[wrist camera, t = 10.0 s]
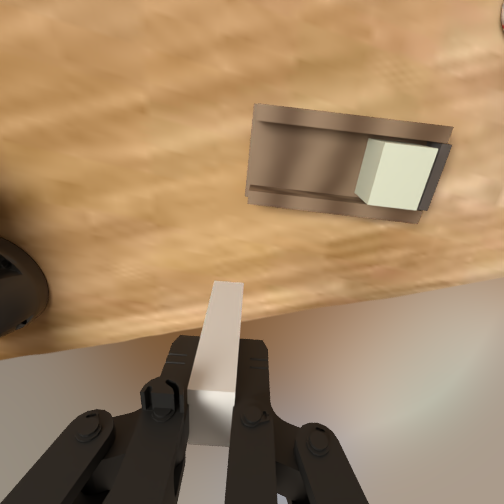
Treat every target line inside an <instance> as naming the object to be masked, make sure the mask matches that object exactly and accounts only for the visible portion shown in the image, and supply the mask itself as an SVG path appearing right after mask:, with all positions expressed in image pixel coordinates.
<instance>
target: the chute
mask: <svg viewBox="0 0 504 504" xmlns="http://www.w3.org/2000/svg"><path fill="white" fill-rule="evenodd" d="M452 130H453V127H450V126H442V125H434V124H425V123H417V122H409V121H400V120H392V119H384V118H375V117H367V116H359V115H350V114H342V113H334V112H325V111H317V110H309V109H300V108H292V107H284V106H275V105H267V104H259V103H258V104H254V110H253V120H252V130H251V140H250V150H249V160H248V170H247V181H246V191H245V196H246V197H248V204H253V205H261V206H270V207H278V208H286V209H295V210H303V211H312V212H320V213H329V214H337V215H345V216H354V217H362V218H371V219H379V220H388V221H396V222H404V223H413V224H418V222H419V219H420V217H421V214H422V210H425V211H428V208H429V205H430V203H431V200H432V197H433V195H434V192H435V189H436V187H437V184H438V181H439V179H440V176H441V173H442V171H443V168H444V165H445V163H446V160H447V157H448V155H449V152H450V149H451V147H452V145H450V144H444V143H448V141H449V138H450V135H451V133H452ZM369 138H372V139H380V140H388V141H397V142H405V143H413V144H419V145H423V146H428V147H433V148H437V149H438V152H437V154H436V157H435V160H434V163H433V166H432V168H431V171H430V174H429V177H428V179H427V182H426V185H425V188H424V191H423V193H422V196H421V199H420V202H419V205H418V207H417V210H407V209H399V208H391V207H382V206H374V205H367V204H366V203H365V202H364V201H363V200H362V199H361V198H360V197H359V196H358V195H356V194H355V189H356V185H357V181H358V177H359V173H360V169H361V166H362V162H363V158H364V154H365V150H366V146H367V142H368V139H369ZM438 142H441V143H438Z"/></svg>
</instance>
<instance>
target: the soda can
mask: <svg viewBox="0 0 504 504" xmlns="http://www.w3.org/2000/svg"><path fill="white" fill-rule="evenodd" d="M501 20H502V27H503V30H504V3H503V7H502V14H501Z"/></svg>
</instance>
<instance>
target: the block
mask: <svg viewBox="0 0 504 504" xmlns="http://www.w3.org/2000/svg"><path fill="white" fill-rule="evenodd" d="M437 152H438V149H437V148H433V147H428V146H423V145H419V144H413V143H405V142H397V141H388V140H380V139H372V138H369V139H368V142H367V146H366V150H365V154H364V158H363V162H362V166H361V169H360V173H359V177H358V181H357V185H356V189H355V194H356V195H358V196H359V197H360V198H361V199H362V200H363V201H364V202H365V203H366V204H367V205H374V206H382V207H391V208H399V209H407V210H417V207H418V205H419V202H420V199H421V196H422V193H423V191H424V188H425V185H426V182H427V179H428V177H429V174H430V171H431V168H432V166H433V163H434V160H435V157H436V154H437Z"/></svg>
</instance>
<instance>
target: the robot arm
mask: <svg viewBox="0 0 504 504" xmlns="http://www.w3.org/2000/svg"><path fill="white" fill-rule="evenodd" d="M243 286H244V283H237V282H224V281H214V285H213V289H212V293H211V297H210V301H209V305H208V309H207V313H206V317H205V321H204V325H203V329H202V332H201V336H200V337H199V336H185V335H180V336H179V337H178V338H177V339H176V340H175V341H174V342H173V343H172V346H171V348H170V351H169V355H168V357H167V359H166V363H165V365H164V367H163V371H162V373H161V376H160V377H157V378H155V379H152V380H151V381H149V382H148V383H147V384H145V385H144V387H143V388H142V390H141V392H140V395H141V404H142V408H141V409H139V410H137V411H135V412H132V413H129V414H125V415H120V416H116V417H112V416H111V414H110V413H109V412H107V411H105V410H98V409H96V410H91V411H87V412H85V413H83V414H81V415H79V416H78V417H77V418H76V419H75V420H73V421H72V422H71V423H70V424H69V425H68V426H67V428H66V429H65V430H64V431H63V432H62V434H60V436H59V437H58V438H57V439H56V440H55V441H54V443H53V444H52V445H51V446H50V447H49V448H48V450H47V451H46V452H45V453H44V454H43V455H42V456H41V457H40V459H39V460H38V461H37V462H36V463H35V464H34V465H33V467H32V468H31V469H30V470H29V471H28V472H27V473H26V475H25V476H24V477H23V478H22V479H21V480H20V481H19V483H18V484H17V485H16V486H15V487H14V488H13V490H12V491H11V492H10V493H9V494H8V495H7V497H6V498H5V499H4V500H3V501H2V502H1V503H0V504H177V501H178V496H179V491H180V486H181V482H182V477H183V472H184V467H185V451H186V446H187V442H188V444H193V445H209V446H225V447H229V458H228V469H227V481H226V493H225V504H277V493H278V494H280V495H282V496H285V497H286V499H287V502H288V504H369V503H368V501H367V499H366V497H365V495H364V493H363V491H362V489H361V486H360V484H359V482H358V480H357V478H356V476H355V474H354V472H353V470H352V468H351V466H350V464H349V461H348V459H347V458H346V455H345V453H344V451H343V449H342V447H341V445H340V443H339V441H338V439H337V438H336V436H335V435H334V433H333V432H332V431H331V430H330V429H328V428H327V427H326V426H324V425H321V424H319V423H307V424H305V425H303V426H302V427H301V428H299V427H297V426H294V425H291V424H289V423H287V422H285V421H283V420H282V419H280V418H279V417H278V416H277V415H276V414H275V412H274V411H273V409H272V407H271V403H270V390H269V389H270V388H269V370H268V349H267V347H266V345H265V344H264V342H263V341H262V340H252V339H239V338H240V324H241V312H242V299H243ZM47 302H48V286H47V283H46V280H45V277H44V275H43V273H42V272H41V270H40V268H39V267H38V266H37V264H36V263H35V262H34V261H33V260H32V259H31V258H30V256H28V255H27V254H26V253H25V252H24V251H23V250H21V249H20V248H19V247H17V246H16V245H14V244H12V243H11V242H9V241H7V240H5V239H3V238H0V337H2V336H4V335H6V334H8V333H11V332H13V331H15V330H17V329H20V328H22V327H24V326H26V325H27V324H29V323H30V322H31V321H33V320H34V319H35V318H36V317H37V316H38V315H39V314H41V313H42V311H43V310H44V309H45V307H46V305H47Z"/></svg>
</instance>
